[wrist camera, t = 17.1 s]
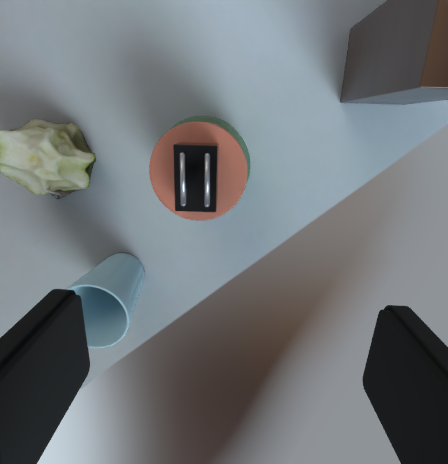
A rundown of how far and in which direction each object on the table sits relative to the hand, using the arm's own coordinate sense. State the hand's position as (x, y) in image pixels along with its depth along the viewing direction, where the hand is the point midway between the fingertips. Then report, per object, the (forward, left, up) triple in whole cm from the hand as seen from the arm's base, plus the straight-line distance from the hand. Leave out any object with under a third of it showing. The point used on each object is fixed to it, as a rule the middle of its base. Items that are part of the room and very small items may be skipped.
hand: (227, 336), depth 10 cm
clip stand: (-15, -12, -29) cm, 35 cm away
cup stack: (+3, -2, -29) cm, 29 cm away
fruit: (+20, -2, -29) cm, 35 cm away
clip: (+3, -2, -18) cm, 18 cm away
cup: (+14, +13, -29) cm, 34 cm away
